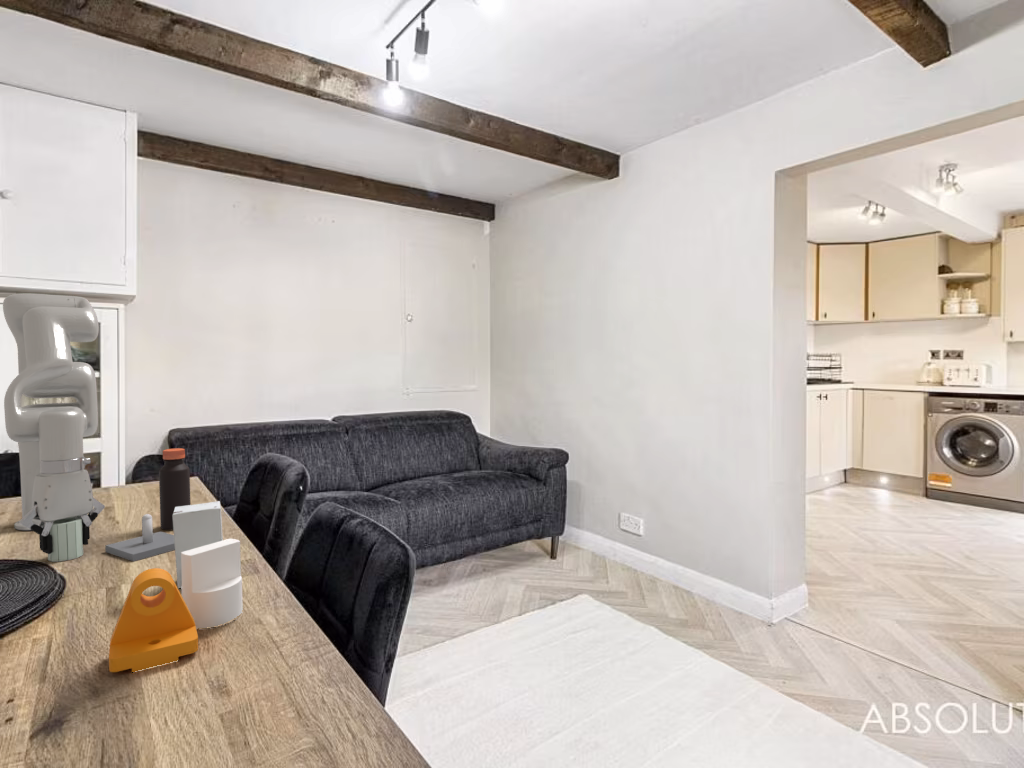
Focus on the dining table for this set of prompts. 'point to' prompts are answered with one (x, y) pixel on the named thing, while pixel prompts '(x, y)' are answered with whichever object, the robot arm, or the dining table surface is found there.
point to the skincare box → (195, 529)
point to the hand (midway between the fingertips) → (65, 547)
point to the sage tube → (66, 539)
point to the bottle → (173, 485)
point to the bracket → (152, 625)
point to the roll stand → (143, 543)
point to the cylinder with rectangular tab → (212, 582)
